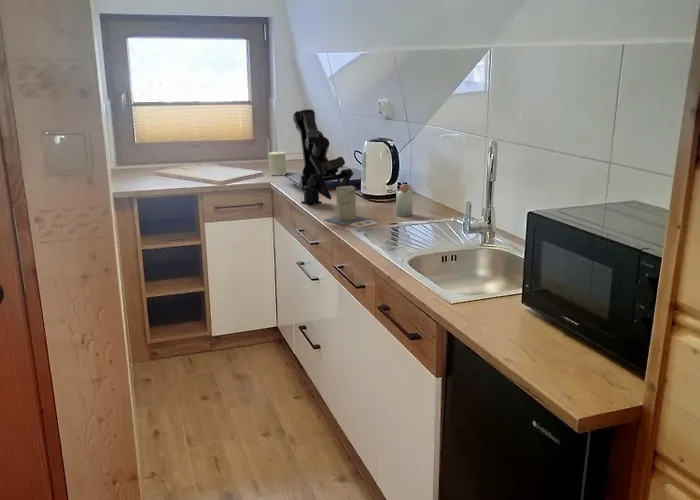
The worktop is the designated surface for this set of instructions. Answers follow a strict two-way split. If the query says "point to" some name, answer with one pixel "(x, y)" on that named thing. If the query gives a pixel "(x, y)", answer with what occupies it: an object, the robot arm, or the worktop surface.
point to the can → (277, 163)
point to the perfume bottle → (404, 201)
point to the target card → (363, 223)
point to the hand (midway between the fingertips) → (340, 196)
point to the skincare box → (346, 203)
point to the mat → (346, 222)
